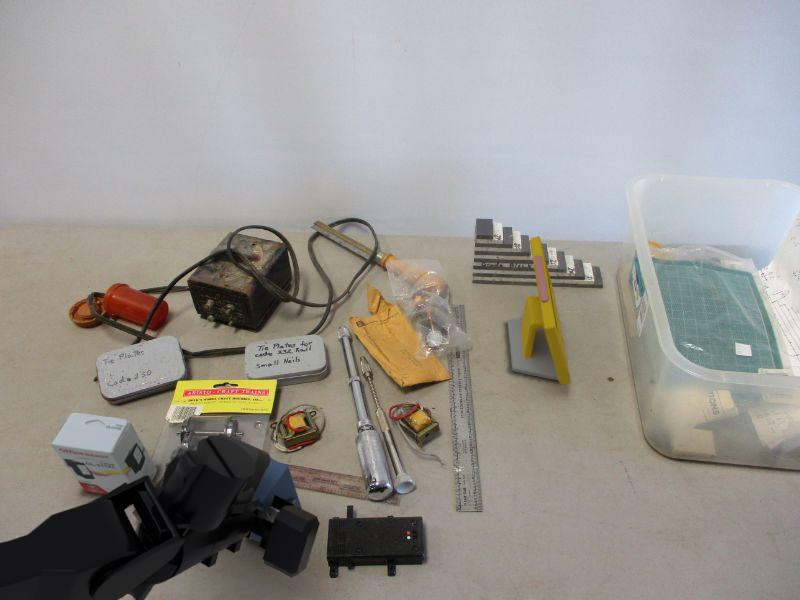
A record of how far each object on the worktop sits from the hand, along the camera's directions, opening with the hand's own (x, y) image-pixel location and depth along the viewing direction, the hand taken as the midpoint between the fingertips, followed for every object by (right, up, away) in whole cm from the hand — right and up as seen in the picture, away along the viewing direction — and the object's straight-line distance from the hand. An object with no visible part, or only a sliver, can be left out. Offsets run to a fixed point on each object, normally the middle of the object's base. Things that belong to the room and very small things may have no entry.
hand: (275, 493), depth 72 cm
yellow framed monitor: (+37, +16, +25) cm, 47 cm away
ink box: (-23, -1, +9) cm, 25 cm away
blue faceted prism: (0, -6, +4) cm, 7 cm away
